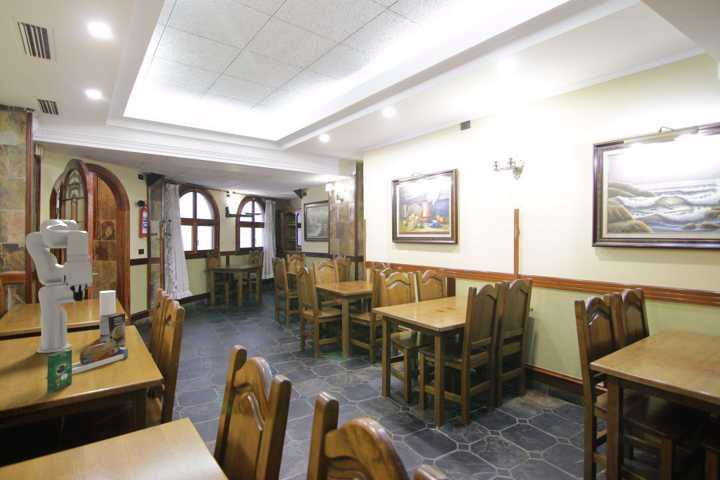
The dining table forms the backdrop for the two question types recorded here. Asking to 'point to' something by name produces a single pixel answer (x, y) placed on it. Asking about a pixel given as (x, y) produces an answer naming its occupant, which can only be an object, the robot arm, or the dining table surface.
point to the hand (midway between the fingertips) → (78, 300)
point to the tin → (99, 352)
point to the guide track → (80, 367)
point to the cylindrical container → (107, 303)
